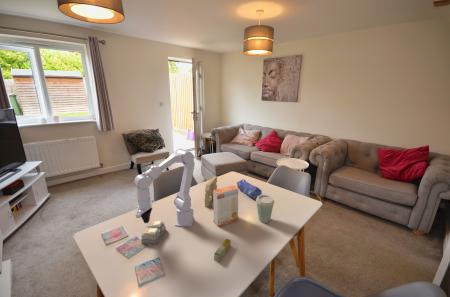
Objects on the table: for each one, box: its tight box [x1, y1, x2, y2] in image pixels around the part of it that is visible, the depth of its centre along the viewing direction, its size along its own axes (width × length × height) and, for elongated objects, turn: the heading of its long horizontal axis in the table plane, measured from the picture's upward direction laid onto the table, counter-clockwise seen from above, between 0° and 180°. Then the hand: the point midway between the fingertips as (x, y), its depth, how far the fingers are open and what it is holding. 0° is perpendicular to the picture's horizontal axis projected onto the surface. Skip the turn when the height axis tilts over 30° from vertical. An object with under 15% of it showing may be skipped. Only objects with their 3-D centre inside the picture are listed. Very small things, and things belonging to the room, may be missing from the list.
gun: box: [204, 175, 218, 208], centre depth 146 cm, size 24×3×15 cm, turn 168°
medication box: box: [213, 237, 232, 263], centre depth 96 cm, size 12×3×4 cm, turn 152°
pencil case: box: [236, 179, 263, 201], centre depth 154 cm, size 22×9×10 cm, turn 30°
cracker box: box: [212, 185, 239, 227], centre depth 119 cm, size 14×6×21 cm, turn 119°
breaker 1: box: [148, 220, 163, 227], centre depth 110 cm, size 6×3×2 cm, turn 85°
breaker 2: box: [142, 227, 158, 235], centre depth 104 cm, size 6×3×2 cm, turn 84°
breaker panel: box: [140, 221, 166, 245], centre depth 107 cm, size 8×12×5 cm, turn 174°
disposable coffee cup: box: [255, 194, 275, 224], centre depth 120 cm, size 11×11×15 cm
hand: (146, 222), depth 103 cm, fingers closed
